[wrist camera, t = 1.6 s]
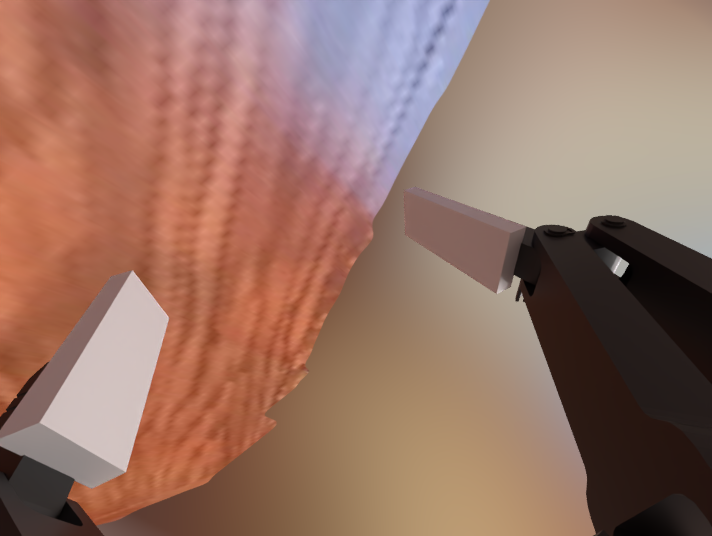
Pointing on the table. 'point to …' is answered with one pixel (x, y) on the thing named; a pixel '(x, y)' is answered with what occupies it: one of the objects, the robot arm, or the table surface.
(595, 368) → the robot arm
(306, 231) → the table surface
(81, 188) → the table surface
